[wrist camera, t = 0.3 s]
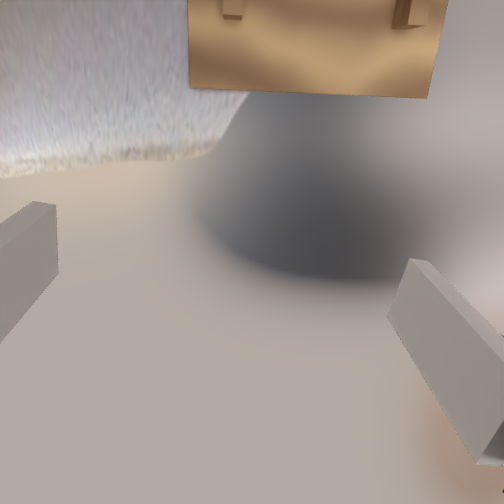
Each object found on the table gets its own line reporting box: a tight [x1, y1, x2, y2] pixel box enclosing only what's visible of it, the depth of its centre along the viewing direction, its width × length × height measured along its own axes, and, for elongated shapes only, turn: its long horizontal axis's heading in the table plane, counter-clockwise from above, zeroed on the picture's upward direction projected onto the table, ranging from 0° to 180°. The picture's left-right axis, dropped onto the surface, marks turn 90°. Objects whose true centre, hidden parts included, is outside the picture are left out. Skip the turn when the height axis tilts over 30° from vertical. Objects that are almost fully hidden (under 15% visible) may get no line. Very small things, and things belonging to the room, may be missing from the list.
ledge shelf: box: [188, 0, 448, 99], centre depth 32 cm, size 14×22×5 cm, turn 87°
